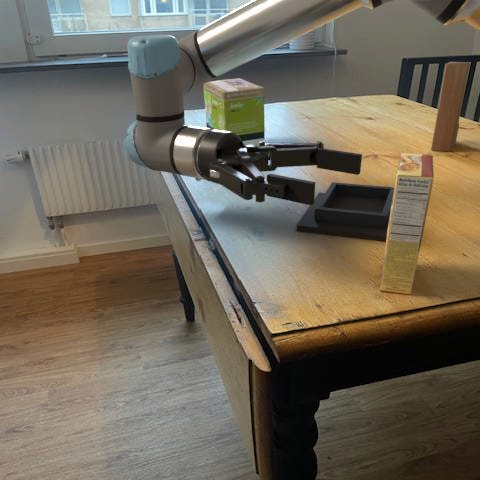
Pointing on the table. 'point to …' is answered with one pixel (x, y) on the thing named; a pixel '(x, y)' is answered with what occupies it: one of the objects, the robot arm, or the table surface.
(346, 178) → the table surface
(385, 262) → the candy box
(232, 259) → the table surface
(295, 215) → the table surface
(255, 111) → the tea box
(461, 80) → the wooden block
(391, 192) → the dock pad
